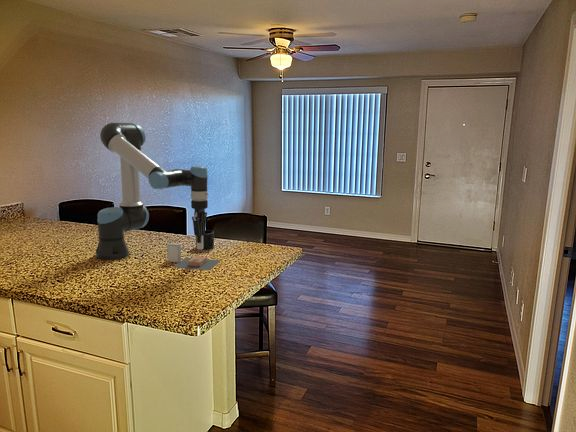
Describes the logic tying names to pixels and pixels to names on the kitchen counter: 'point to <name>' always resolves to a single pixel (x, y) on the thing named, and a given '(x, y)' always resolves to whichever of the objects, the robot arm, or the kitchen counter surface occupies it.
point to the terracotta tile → (197, 261)
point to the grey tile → (174, 252)
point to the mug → (207, 240)
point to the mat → (206, 266)
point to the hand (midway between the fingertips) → (200, 248)
